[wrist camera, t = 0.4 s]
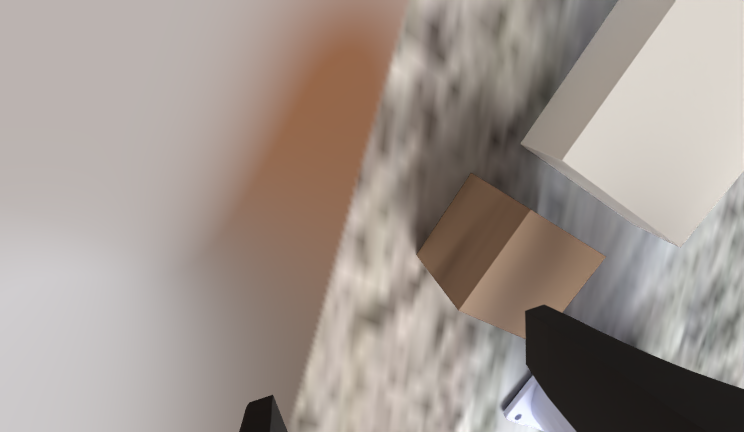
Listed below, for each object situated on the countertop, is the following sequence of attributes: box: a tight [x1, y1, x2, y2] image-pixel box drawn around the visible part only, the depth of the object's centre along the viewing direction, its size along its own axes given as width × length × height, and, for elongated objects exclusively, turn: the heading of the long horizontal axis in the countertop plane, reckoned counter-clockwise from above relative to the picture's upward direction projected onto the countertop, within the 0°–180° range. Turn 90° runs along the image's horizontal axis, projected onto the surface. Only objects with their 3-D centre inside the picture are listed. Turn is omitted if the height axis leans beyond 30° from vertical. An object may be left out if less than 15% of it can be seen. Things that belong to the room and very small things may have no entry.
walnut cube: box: [417, 173, 606, 339], centre depth 20 cm, size 5×5×5 cm
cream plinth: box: [520, 0, 744, 247], centre depth 20 cm, size 10×10×4 cm
